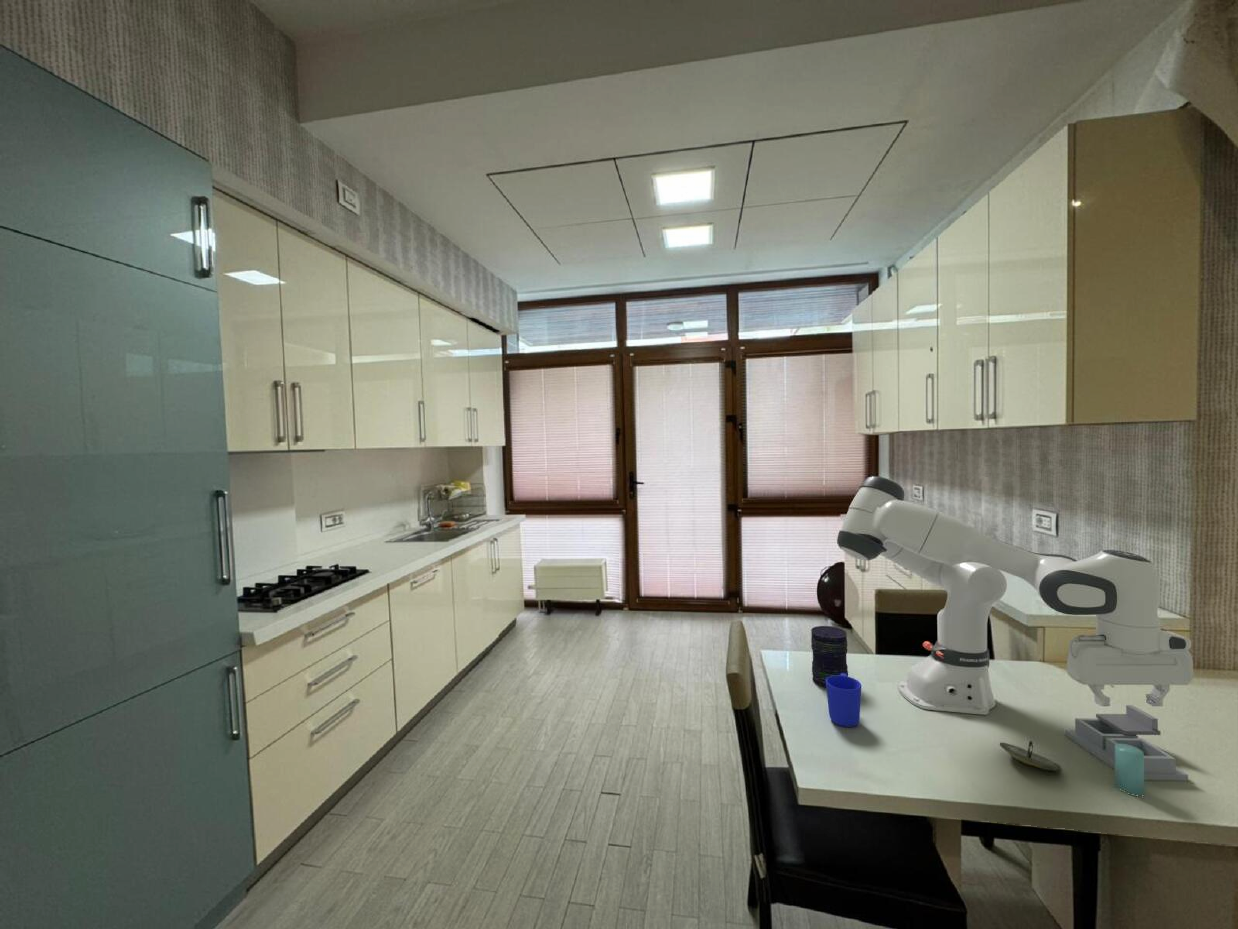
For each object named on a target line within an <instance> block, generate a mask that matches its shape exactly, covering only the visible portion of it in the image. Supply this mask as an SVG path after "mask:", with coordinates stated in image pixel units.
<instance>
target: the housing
mask: <svg viewBox="0 0 1238 929" xmlns="http://www.w3.org/2000/svg"><path fill="white" fill-rule="evenodd" d="M1074 721H1075V722H1074V723H1075V724H1074V725H1075V726H1074V727H1075V729H1065V732H1064V733H1065V735H1064V736H1066V737H1067V738H1068V739H1070V740H1072V741H1073V742H1074V743H1076V744H1077V745H1078V746H1080V747H1081V748H1083V749H1084V750H1086V751H1087V752H1089V753H1090V754H1091V755H1093V756H1095V757H1096V758H1098V760H1100V761H1102V762H1103V763H1104V764H1106V765H1107V766H1108V767H1110V768H1112V769H1114V771H1115V744H1119V743H1120V744H1127V745H1131V746H1134V747H1136V748H1138V749H1140V750H1142V751H1143V753H1144V781H1175V782H1176V781H1185V782H1186V781H1187V782H1188V781H1189V774H1188V773H1186V772H1184V771H1182V769H1180V768H1178V767H1177V761H1176V760H1177V759H1176V758H1175V757H1173V755H1170V754H1169V753H1167V752H1165V751H1163V750H1162V749H1160V748H1159V747H1157V746H1155V745H1154V744H1151V742H1149V741H1147V740H1146V739H1144V738H1142V737H1141V738H1140V737H1139V735H1124V734H1123V733H1121V732H1119V731H1118V730H1116V729H1114V728H1113V727H1111V726H1110V725H1108V724H1106V723H1105V722H1103V721H1101V720H1100V719H1098V718H1090V717H1089V718H1085V717H1084V718H1082V717H1081V718H1079V717H1077V718H1076V717H1075V718H1074Z"/></svg>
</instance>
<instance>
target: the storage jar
mask: <svg viewBox="0 0 1238 929" xmlns="http://www.w3.org/2000/svg"><path fill="white" fill-rule="evenodd" d="M810 630H811V631H810V634H811V635H810V636H811V637H810V643H811V645H810V647H811V650H812V661H811V672H812V673H811V675H812V683H813V684H815V685H816V686H818V687H820V688H823V689H826V679H827V678H828V677H830V676H834V675H841V673H845V674H847V676H848V677H849V670H848V667H849V666H848V664H847V663H848V662H847V653H848V639H847V636H848V634H847V631H846V630H844V629H842V628H840V627H835V626H829V625H819V626H814V627H812V628H811V629H810Z"/></svg>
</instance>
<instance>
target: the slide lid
mask: <svg viewBox="0 0 1238 929" xmlns="http://www.w3.org/2000/svg"><path fill="white" fill-rule="evenodd" d="M1125 711H1126V713H1095V719H1100V720H1101V721H1103V722H1105V723H1106V724H1108V725H1110V726H1111V727H1113V728H1114V729H1116V730H1118V731H1119V732H1121V733H1123V734H1124V735H1137V736H1142V735H1143V736H1161V730H1159V729H1158V728H1159V727H1158V726H1159V723H1158V722H1159V720H1158V718H1157V717H1155V716H1153V715H1151V714H1149V713H1147V712H1146V711H1144V710H1142V709H1140V708H1138V707H1136V706H1134V705H1133V704H1126V705H1125Z"/></svg>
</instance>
